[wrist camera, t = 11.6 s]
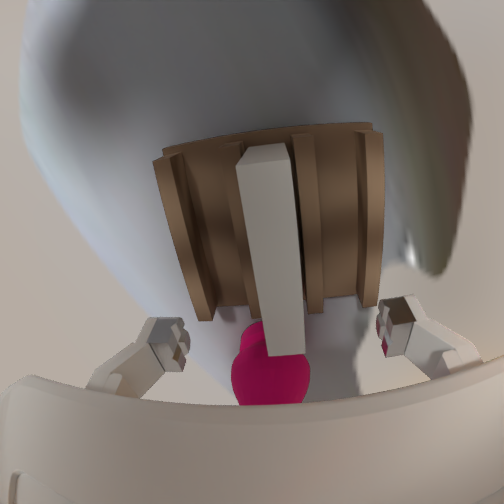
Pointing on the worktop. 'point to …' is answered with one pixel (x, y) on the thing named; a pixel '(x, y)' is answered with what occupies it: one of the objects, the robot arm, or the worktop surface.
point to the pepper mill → (267, 372)
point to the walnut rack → (306, 204)
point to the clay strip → (274, 245)
